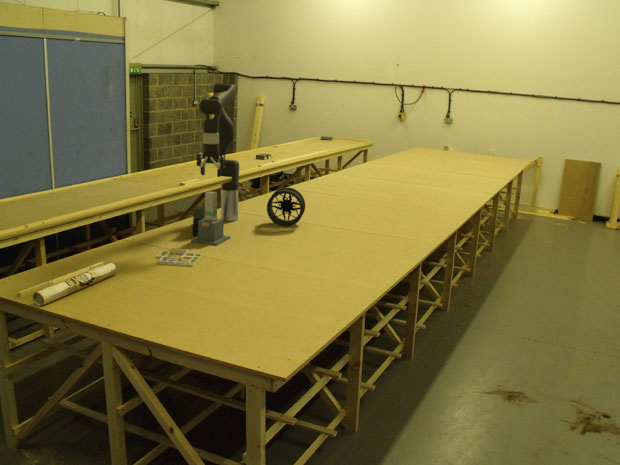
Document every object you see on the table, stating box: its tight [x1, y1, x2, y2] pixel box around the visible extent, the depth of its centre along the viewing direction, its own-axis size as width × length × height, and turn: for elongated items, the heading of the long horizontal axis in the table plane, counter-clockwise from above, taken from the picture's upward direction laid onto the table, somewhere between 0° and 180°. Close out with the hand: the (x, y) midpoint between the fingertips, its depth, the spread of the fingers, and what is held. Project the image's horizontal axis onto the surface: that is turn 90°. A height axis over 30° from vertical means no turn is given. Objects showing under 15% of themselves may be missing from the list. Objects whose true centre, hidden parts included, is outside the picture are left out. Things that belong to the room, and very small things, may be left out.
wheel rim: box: [266, 186, 306, 228], centre depth 333 cm, size 20×9×20 cm, turn 84°
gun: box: [191, 206, 205, 236], centre depth 320 cm, size 7×29×15 cm, turn 0°
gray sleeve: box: [190, 218, 231, 246], centre depth 301 cm, size 14×14×10 cm
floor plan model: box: [155, 247, 203, 267], centre depth 273 cm, size 19×25×2 cm
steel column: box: [204, 190, 218, 222], centre depth 298 cm, size 4×4×16 cm
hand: (211, 175), depth 294 cm, fingers open, 8 cm apart
